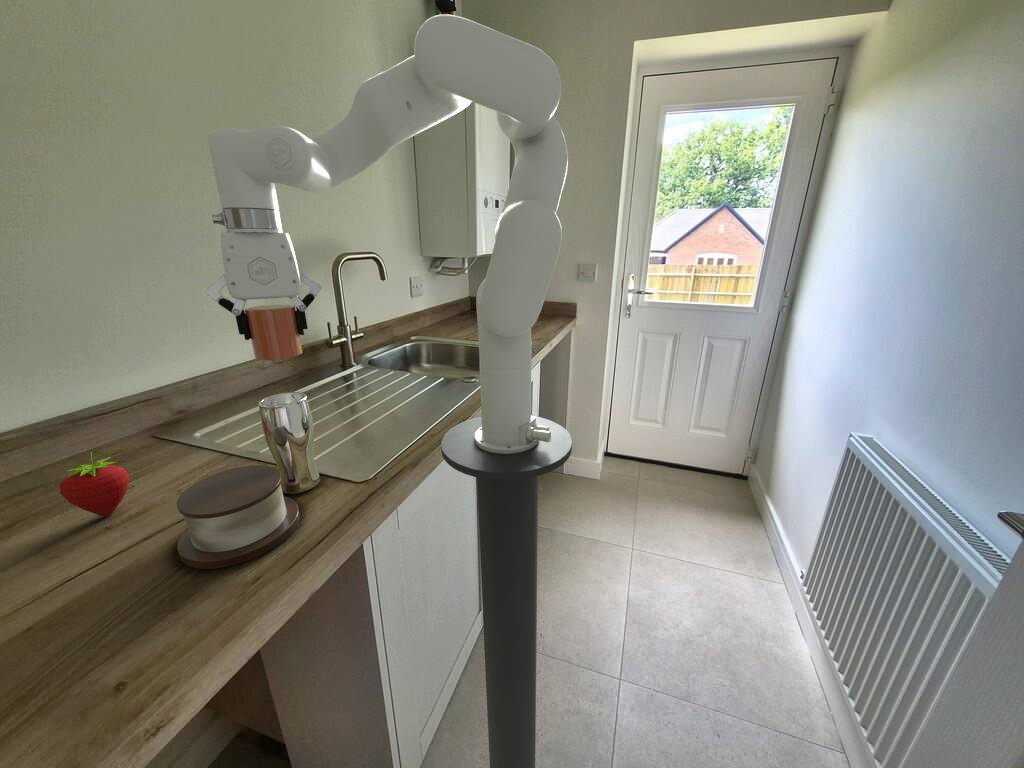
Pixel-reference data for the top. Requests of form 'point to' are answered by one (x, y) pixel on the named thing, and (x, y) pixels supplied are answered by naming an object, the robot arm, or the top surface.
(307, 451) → the beer glass
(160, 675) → the top surface
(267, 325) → the terracotta cup
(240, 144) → the robot arm
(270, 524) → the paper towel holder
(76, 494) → the strawberry
